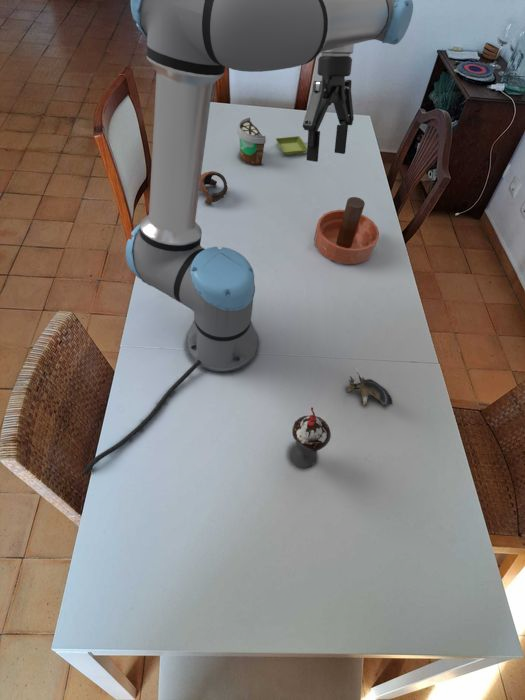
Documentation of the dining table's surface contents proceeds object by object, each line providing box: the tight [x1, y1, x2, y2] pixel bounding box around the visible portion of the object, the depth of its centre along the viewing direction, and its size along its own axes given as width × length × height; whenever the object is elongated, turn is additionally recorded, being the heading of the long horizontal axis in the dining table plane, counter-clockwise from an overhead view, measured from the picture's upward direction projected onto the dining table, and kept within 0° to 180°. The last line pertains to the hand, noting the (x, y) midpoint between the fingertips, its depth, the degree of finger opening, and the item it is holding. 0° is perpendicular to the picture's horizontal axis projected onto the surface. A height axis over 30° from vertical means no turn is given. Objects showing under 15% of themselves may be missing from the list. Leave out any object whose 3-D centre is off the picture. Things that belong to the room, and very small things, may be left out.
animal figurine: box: [347, 368, 393, 406], centre depth 93 cm, size 8×7×9 cm
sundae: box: [289, 406, 332, 469], centre depth 81 cm, size 7×7×15 cm
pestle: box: [336, 196, 366, 248], centre depth 118 cm, size 4×4×13 cm
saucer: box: [275, 135, 307, 156], centre depth 150 cm, size 9×9×2 cm
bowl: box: [313, 209, 380, 265], centre depth 122 cm, size 16×16×6 cm
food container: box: [236, 117, 267, 166], centre depth 141 cm, size 12×6×10 cm, turn 25°
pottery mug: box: [199, 170, 229, 206], centre depth 130 cm, size 12×10×8 cm
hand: (326, 156), depth 113 cm, fingers open, 13 cm apart
